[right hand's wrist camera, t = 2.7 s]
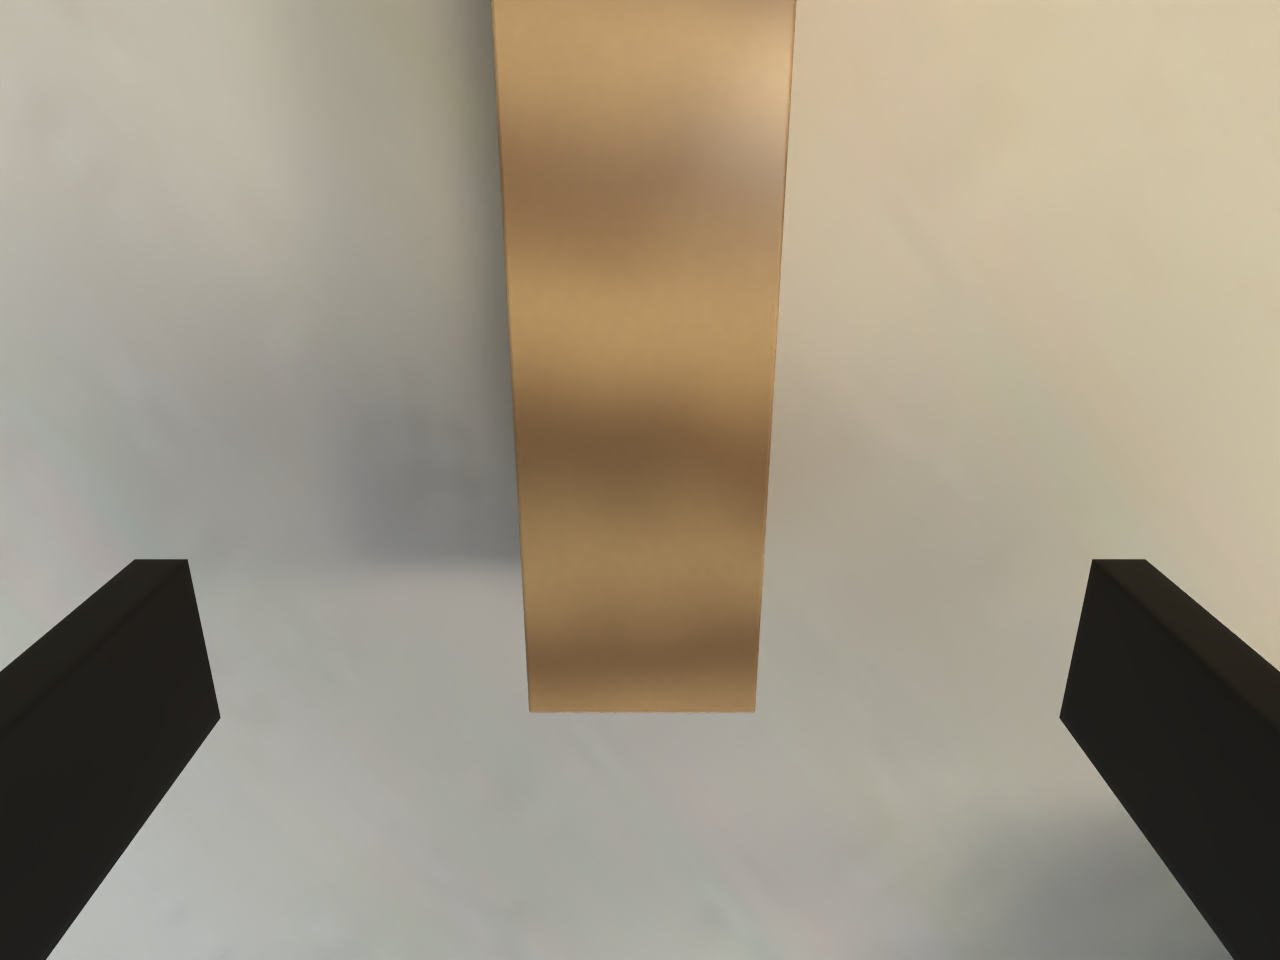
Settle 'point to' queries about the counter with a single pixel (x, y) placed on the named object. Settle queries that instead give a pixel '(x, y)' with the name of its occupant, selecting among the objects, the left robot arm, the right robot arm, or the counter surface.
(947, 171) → the counter surface
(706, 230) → the beam
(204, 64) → the counter surface
